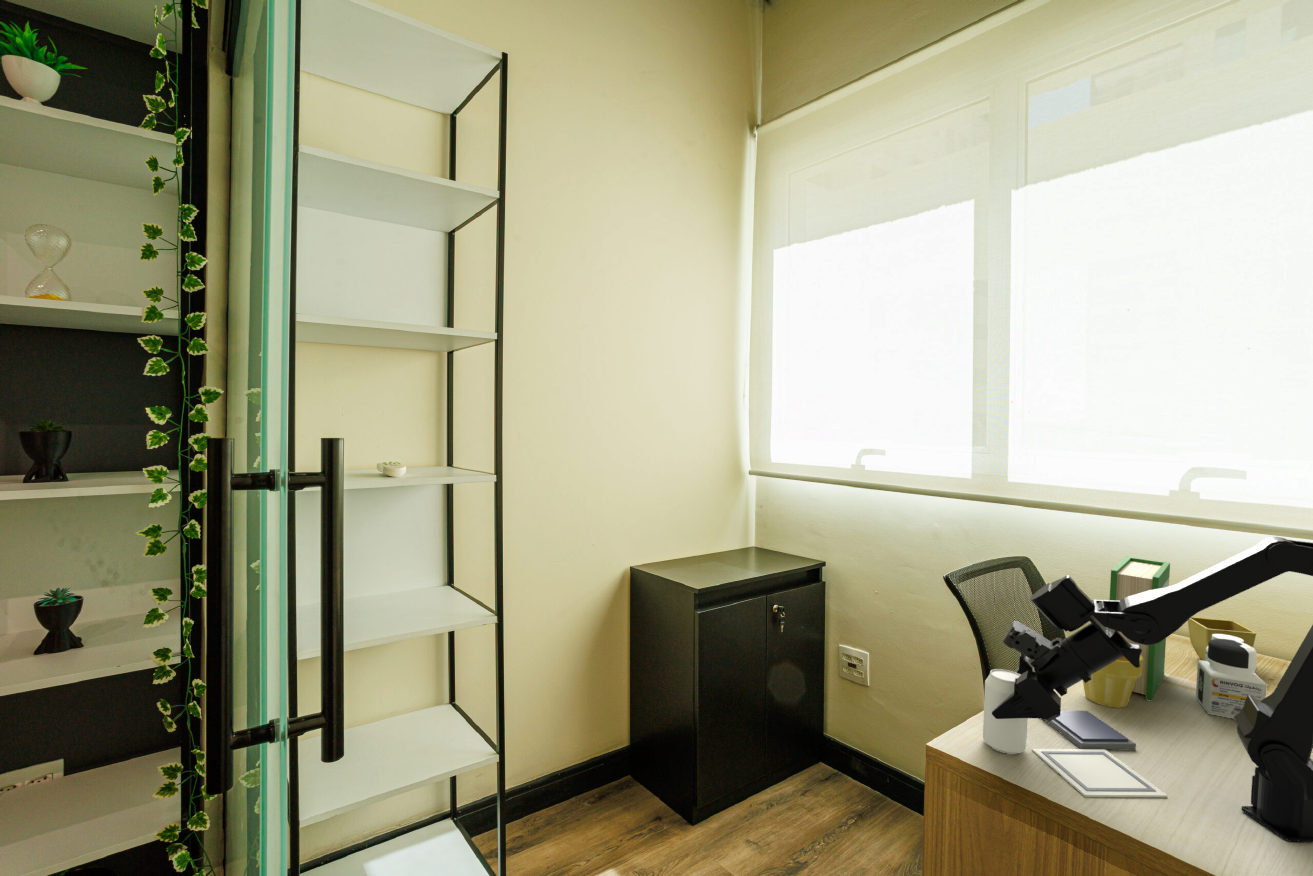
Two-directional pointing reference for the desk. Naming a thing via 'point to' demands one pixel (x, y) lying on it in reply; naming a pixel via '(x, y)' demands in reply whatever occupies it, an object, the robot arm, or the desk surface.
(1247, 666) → the container
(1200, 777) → the desk surface
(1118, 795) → the print card
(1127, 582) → the hardback book
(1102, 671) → the plant pot
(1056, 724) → the ink pad
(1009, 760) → the desk surface
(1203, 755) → the desk surface
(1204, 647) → the flower pot
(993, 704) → the beverage can
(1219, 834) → the desk surface
